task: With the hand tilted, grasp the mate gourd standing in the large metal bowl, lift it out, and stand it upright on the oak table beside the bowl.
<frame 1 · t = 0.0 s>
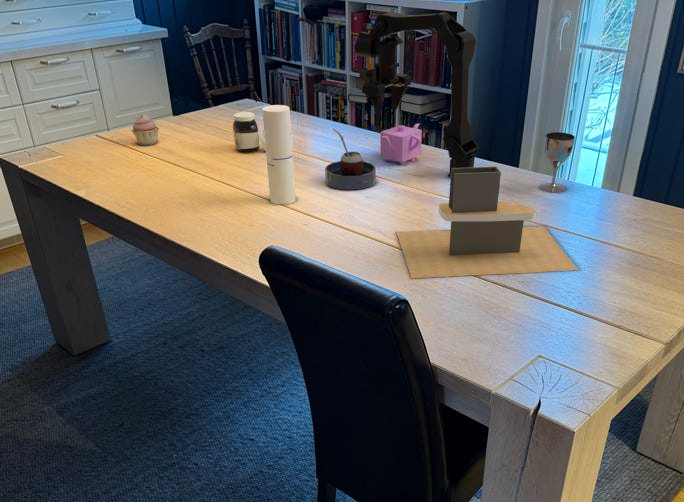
hand: (386, 112, 213), 15 cm above the table, tool pointing down, fingers open, 9 cm apart
spread jar: (253, 150, 230), on the table
metal goblet: (552, 188, 198), on the table
cylindrical container: (283, 200, 191), on the table
cupcake: (147, 143, 237), on the table
teapot: (400, 160, 220), on the table
architectural model: (482, 251, 162), on the table
large metal bowl: (350, 181, 203), on the table
mate gourd: (350, 181, 203), resting on large metal bowl
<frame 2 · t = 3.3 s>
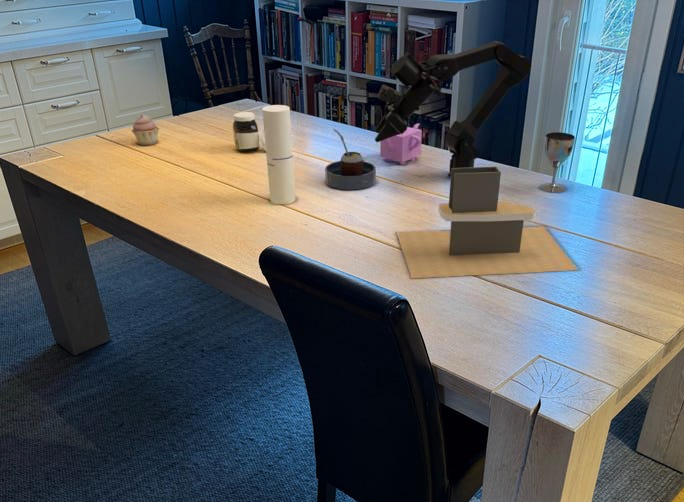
hand: (376, 136, 195), 13 cm above the table, tool tilted 45°, fingers open, 9 cm apart
nothing on the table moved.
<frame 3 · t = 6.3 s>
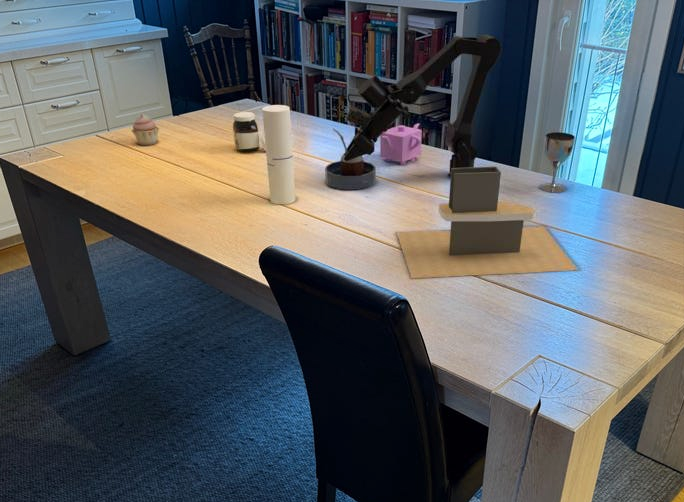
hand: (345, 156, 199), 8 cm above the table, tool tilted 45°, fingers closed on mate gourd, 6 cm apart
mate gourd: (350, 181, 203), resting on large metal bowl, touching gripper
everything else where it was.
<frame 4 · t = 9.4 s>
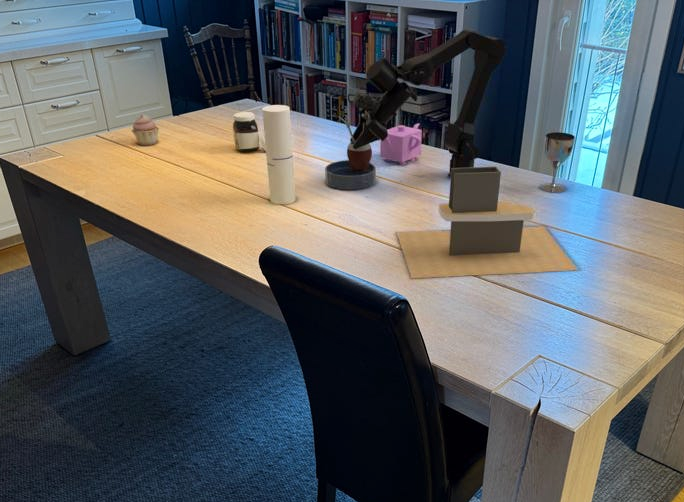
hand: (352, 144, 190), 13 cm above the table, tool tilted 45°, fingers closed on mate gourd, 6 cm apart
mate gourd: (358, 171, 194), point 6 cm above the table, touching gripper
everything else where it was.
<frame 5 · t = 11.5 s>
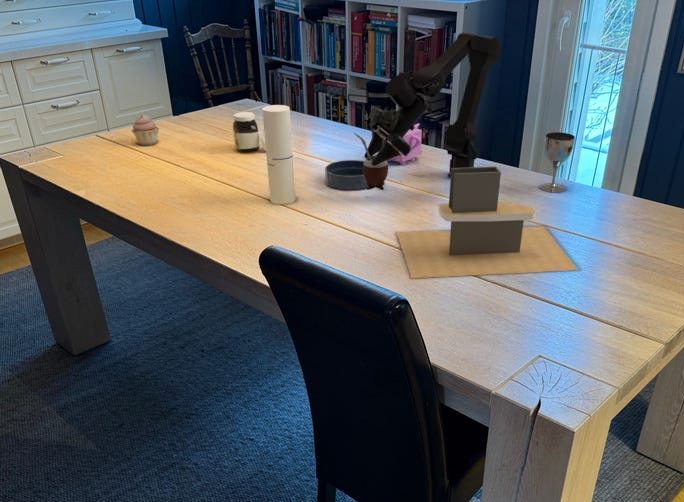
hand: (368, 161, 184), 11 cm above the table, tool tilted 45°, fingers closed on mate gourd, 6 cm apart
mate gourd: (374, 187, 189), point 3 cm above the table, touching gripper
everything else where it was.
when the fingers open (7 cm above the table, at t = 13.0 s): mate gourd stays where it is, on the table.
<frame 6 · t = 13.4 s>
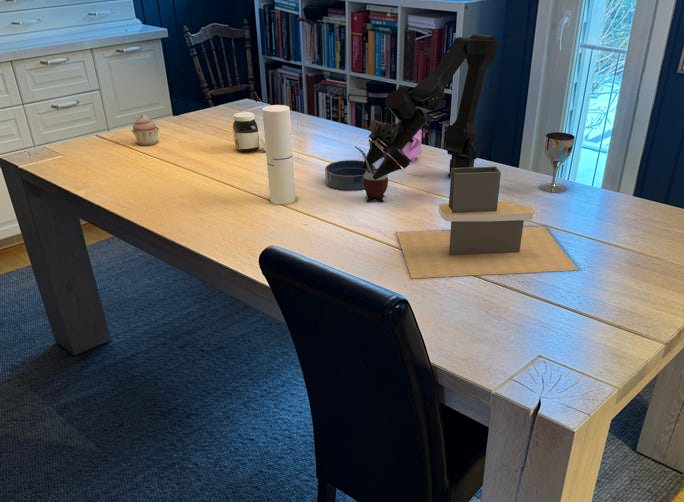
hand: (368, 173, 186), 8 cm above the table, tool tilted 45°, fingers open, 9 cm apart
mate gourd: (373, 199, 191), on the table
everything else where it was.
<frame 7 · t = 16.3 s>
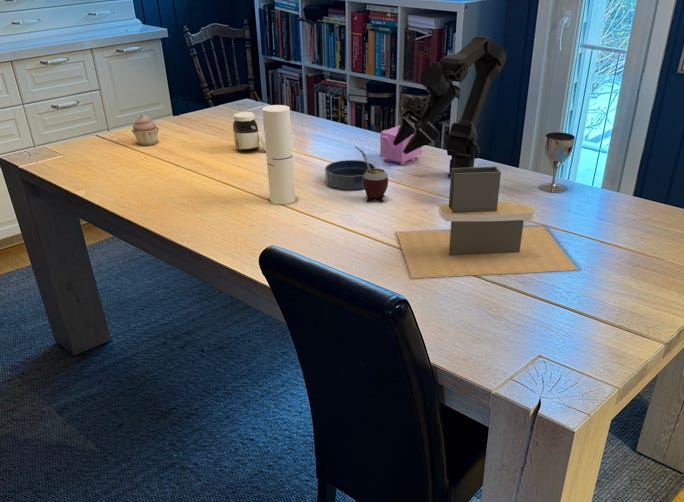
hand: (399, 148, 186), 13 cm above the table, tool tilted 45°, fingers open, 9 cm apart
nothing on the table moved.
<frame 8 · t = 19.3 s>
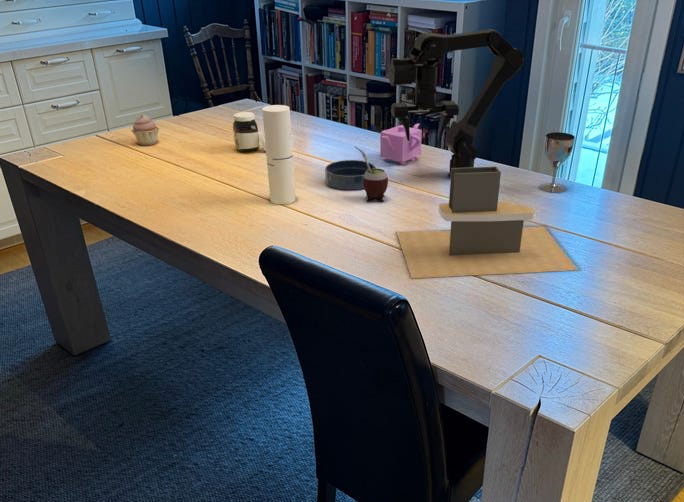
hand: (423, 139, 198), 12 cm above the table, tool pointing down, fingers open, 9 cm apart
nothing on the table moved.
at the end: mate gourd inside the target area (0.2 cm from its centre), on the table; mate gourd tilted 0°; mate gourd touching table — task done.
